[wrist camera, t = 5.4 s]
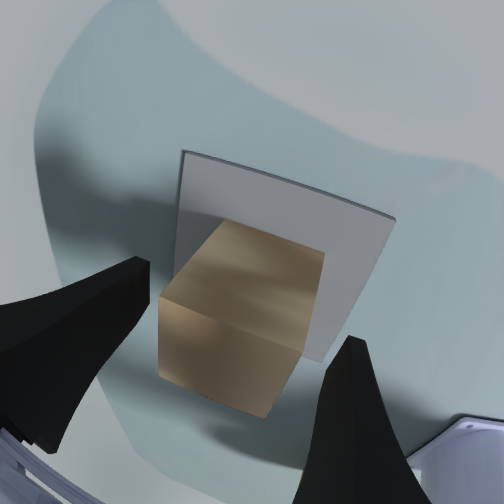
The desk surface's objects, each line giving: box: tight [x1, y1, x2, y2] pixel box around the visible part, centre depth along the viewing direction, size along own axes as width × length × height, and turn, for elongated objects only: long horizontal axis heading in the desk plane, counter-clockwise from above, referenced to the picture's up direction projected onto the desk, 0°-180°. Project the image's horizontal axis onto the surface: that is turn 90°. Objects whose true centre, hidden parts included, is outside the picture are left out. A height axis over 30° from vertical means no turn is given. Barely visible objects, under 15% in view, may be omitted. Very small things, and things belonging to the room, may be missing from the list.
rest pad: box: [173, 151, 396, 363], centre depth 13 cm, size 8×8×1 cm
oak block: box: [158, 219, 325, 419], centre depth 11 cm, size 4×4×5 cm
